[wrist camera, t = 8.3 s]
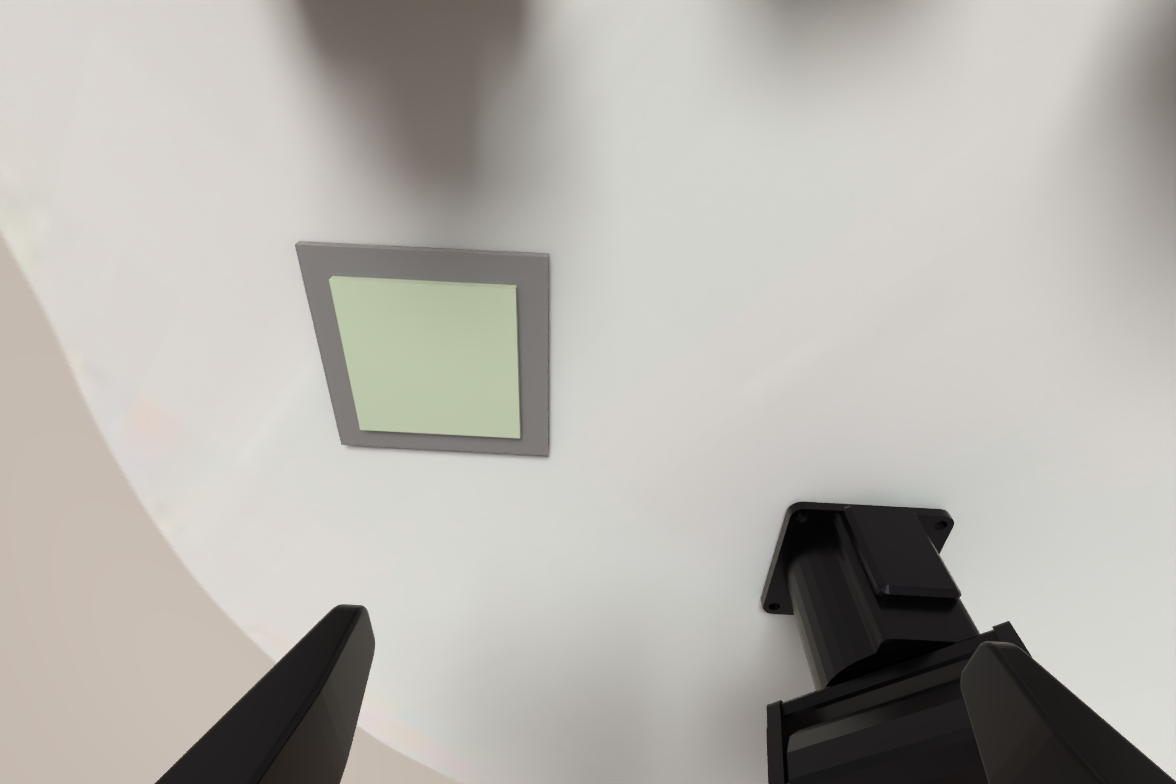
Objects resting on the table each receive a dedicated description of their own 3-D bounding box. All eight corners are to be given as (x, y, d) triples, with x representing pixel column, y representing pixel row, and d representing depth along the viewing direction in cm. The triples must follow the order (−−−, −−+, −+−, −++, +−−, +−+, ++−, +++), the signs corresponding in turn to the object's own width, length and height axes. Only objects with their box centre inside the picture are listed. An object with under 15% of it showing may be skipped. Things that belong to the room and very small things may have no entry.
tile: (548, 450, 24) (546, 460, 23) (344, 439, 24) (338, 449, 23) (548, 253, 19) (547, 260, 19) (299, 241, 19) (290, 247, 19)
